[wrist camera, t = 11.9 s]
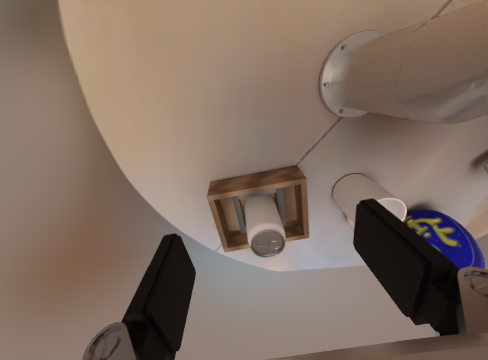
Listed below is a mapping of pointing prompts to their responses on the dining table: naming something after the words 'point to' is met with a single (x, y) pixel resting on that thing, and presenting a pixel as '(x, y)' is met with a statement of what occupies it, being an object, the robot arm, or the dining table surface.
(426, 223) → the ornament
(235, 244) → the bin
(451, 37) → the robot arm
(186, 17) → the dining table surface
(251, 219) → the can
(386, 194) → the mug
